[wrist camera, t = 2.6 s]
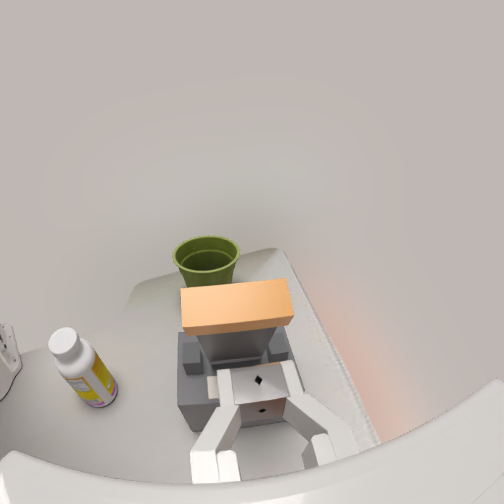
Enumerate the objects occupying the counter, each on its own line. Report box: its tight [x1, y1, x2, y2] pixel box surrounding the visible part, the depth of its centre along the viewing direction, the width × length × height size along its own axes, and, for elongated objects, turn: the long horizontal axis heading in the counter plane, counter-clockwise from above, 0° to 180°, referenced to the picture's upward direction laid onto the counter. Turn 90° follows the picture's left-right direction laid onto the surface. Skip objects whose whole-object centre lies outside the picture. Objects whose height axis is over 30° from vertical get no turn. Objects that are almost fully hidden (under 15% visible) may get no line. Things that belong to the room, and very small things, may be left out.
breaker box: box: [177, 326, 305, 432], centre depth 32 cm, size 11×14×12 cm
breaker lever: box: [181, 278, 294, 365], centre depth 24 cm, size 3×7×17 cm, turn 98°
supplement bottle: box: [48, 327, 117, 407], centre depth 30 cm, size 7×7×13 cm
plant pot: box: [172, 236, 240, 288], centre depth 50 cm, size 12×12×11 cm
